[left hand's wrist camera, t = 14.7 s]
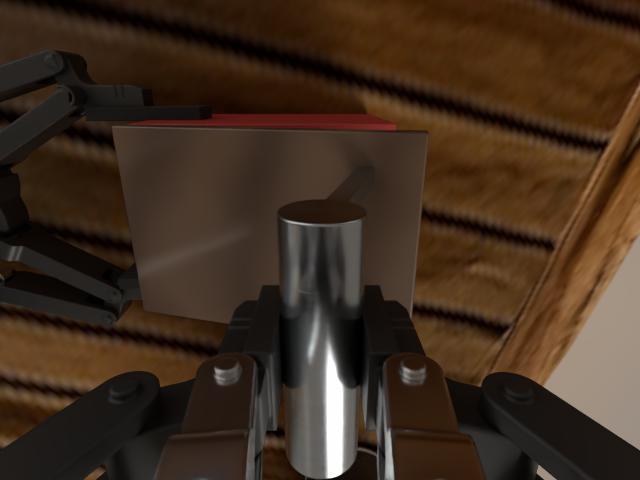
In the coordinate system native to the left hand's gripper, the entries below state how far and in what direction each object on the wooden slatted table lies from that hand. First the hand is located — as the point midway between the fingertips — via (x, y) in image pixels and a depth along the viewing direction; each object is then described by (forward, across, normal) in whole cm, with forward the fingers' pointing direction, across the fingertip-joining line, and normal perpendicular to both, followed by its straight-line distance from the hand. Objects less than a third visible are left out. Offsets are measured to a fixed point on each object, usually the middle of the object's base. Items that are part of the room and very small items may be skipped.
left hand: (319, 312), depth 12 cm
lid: (+8, +3, 0) cm, 8 cm away
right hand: (+14, +7, 0) cm, 16 cm away
